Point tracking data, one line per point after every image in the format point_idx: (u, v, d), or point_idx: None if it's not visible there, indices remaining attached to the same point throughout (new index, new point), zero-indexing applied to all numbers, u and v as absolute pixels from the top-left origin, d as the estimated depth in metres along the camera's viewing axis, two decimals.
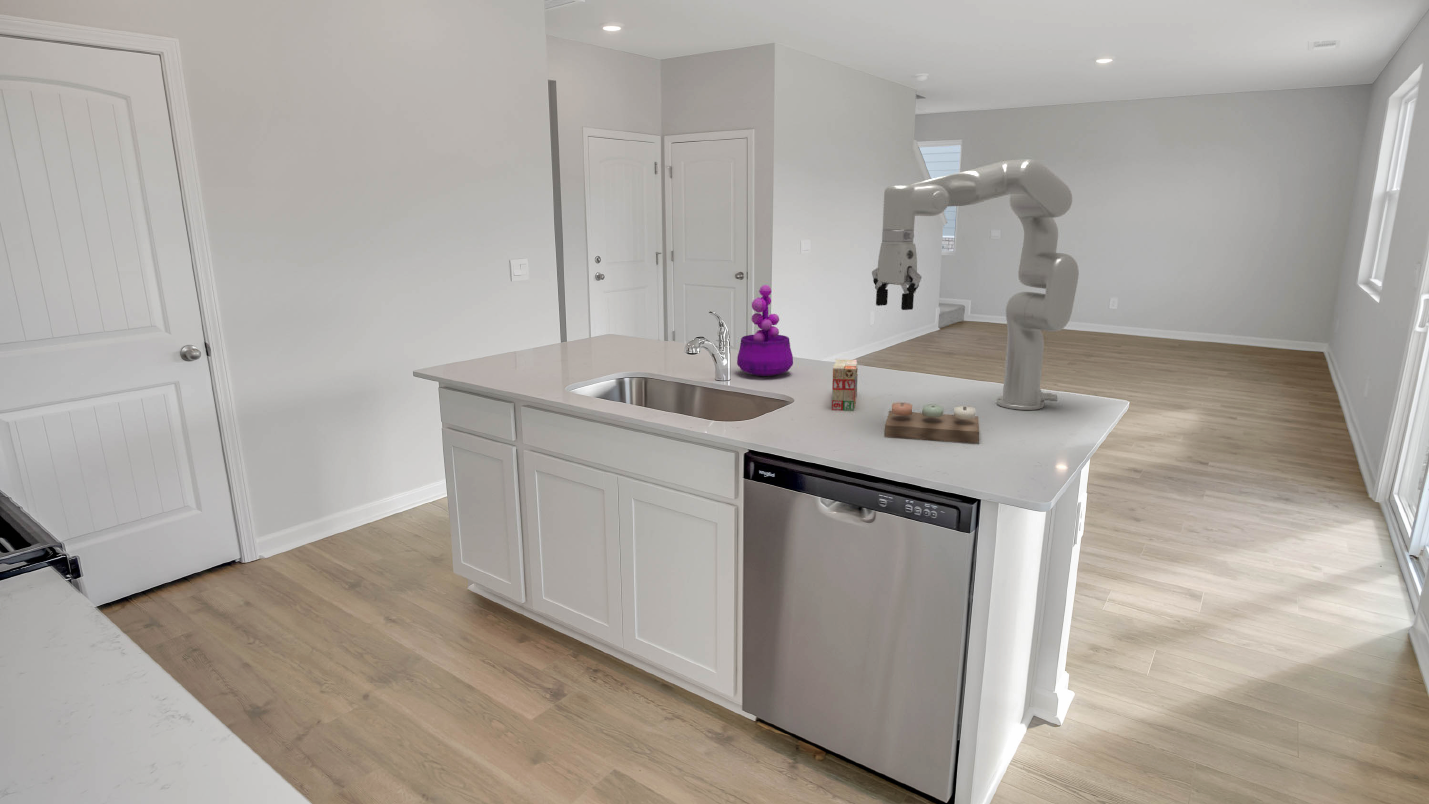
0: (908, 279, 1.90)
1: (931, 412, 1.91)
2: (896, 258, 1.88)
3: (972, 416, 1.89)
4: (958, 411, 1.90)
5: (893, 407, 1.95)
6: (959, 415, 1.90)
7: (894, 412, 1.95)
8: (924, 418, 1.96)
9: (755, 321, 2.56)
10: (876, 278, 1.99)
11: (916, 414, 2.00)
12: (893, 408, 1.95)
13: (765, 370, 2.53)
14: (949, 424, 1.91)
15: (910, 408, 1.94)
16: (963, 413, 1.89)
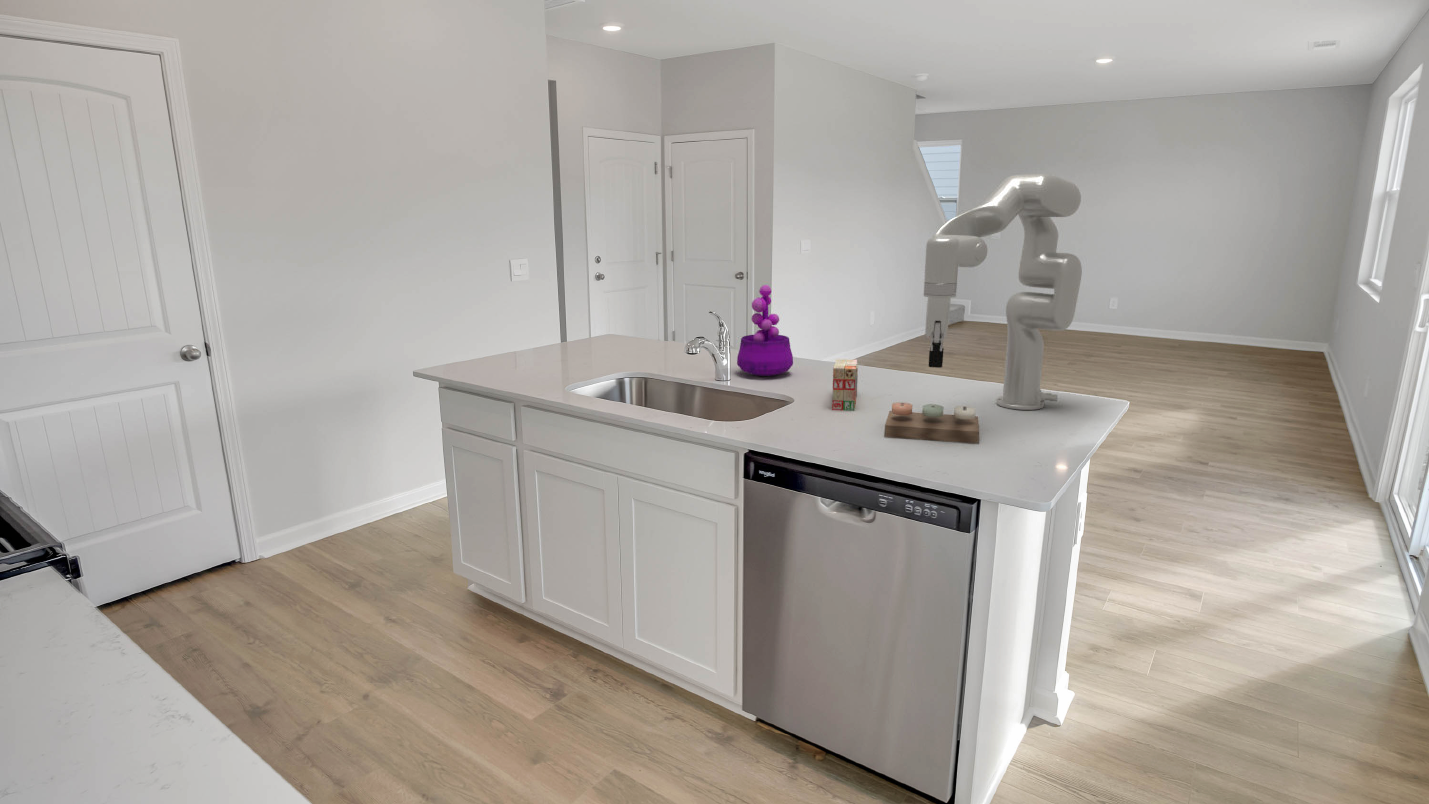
0: None
1: (931, 412, 1.91)
2: None
3: (972, 416, 1.89)
4: (958, 411, 1.90)
5: (893, 407, 1.95)
6: (959, 415, 1.90)
7: (894, 412, 1.95)
8: (924, 418, 1.96)
9: (755, 321, 2.56)
10: None
11: (916, 414, 2.00)
12: (893, 408, 1.95)
13: (765, 370, 2.53)
14: (949, 424, 1.91)
15: (910, 408, 1.94)
16: (963, 413, 1.89)
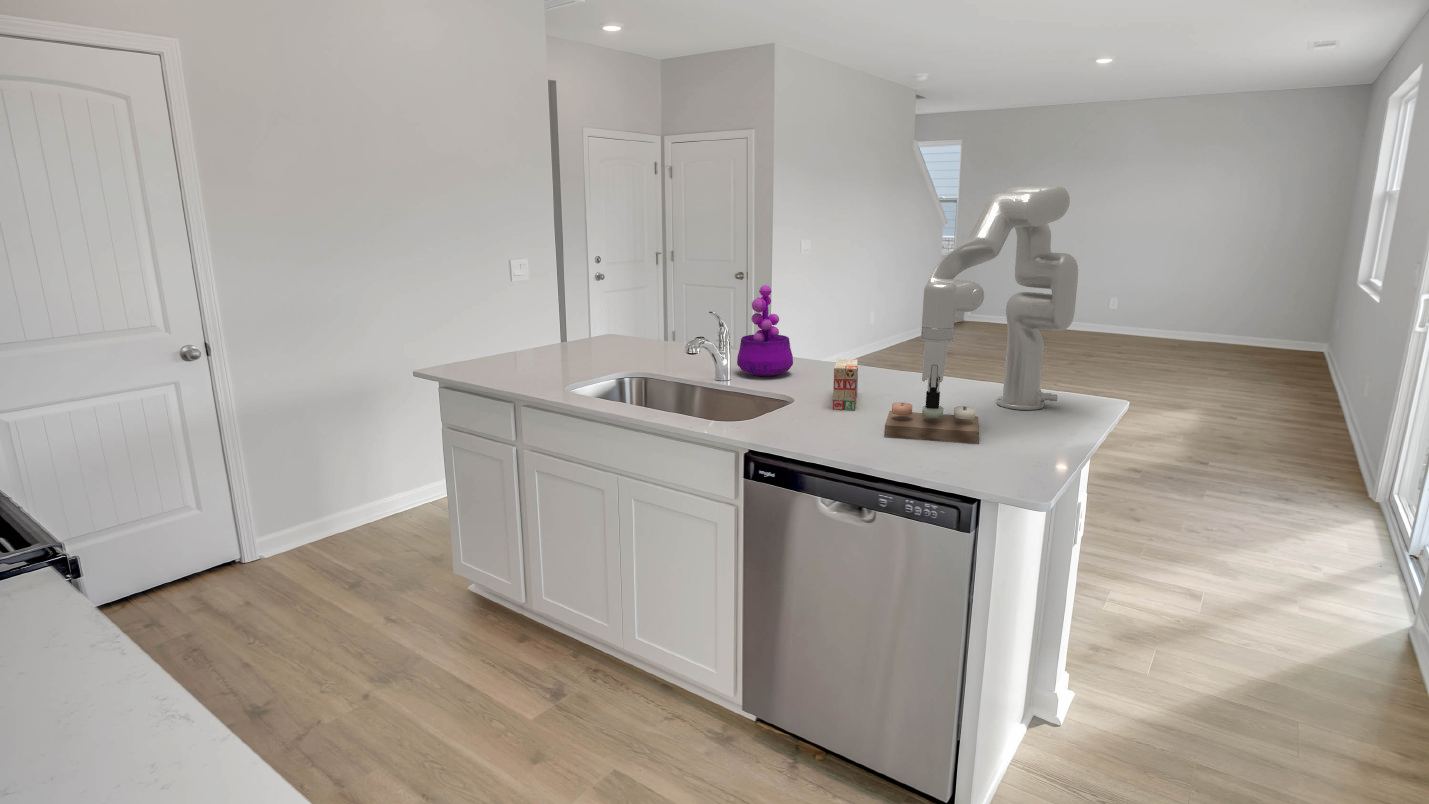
0: None
1: (931, 413, 1.91)
2: None
3: (972, 416, 1.89)
4: (958, 411, 1.90)
5: (893, 407, 1.95)
6: (959, 415, 1.90)
7: (894, 412, 1.95)
8: (924, 418, 1.96)
9: (755, 321, 2.56)
10: None
11: (916, 414, 2.00)
12: (893, 408, 1.95)
13: (765, 370, 2.53)
14: (949, 424, 1.91)
15: (910, 408, 1.94)
16: (963, 413, 1.89)
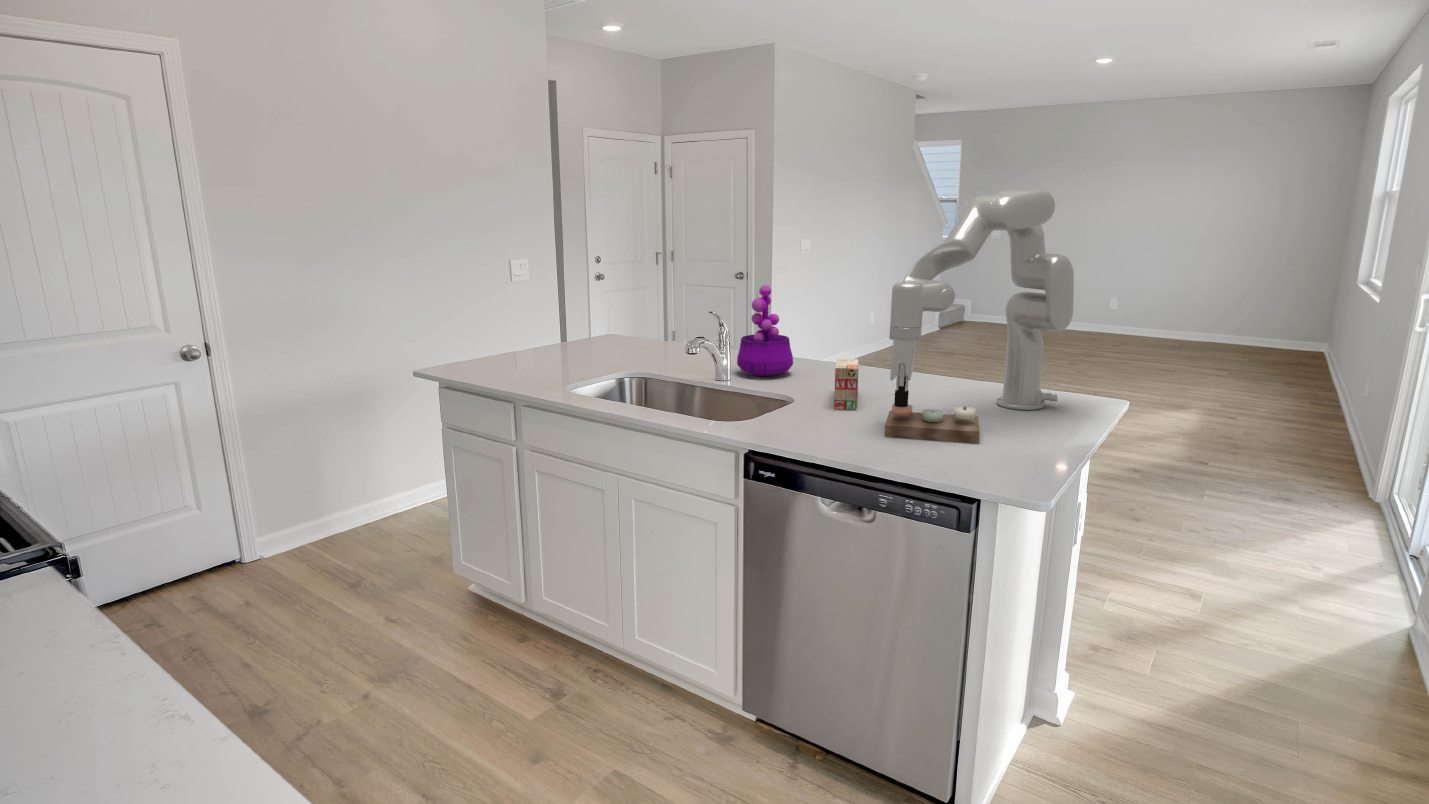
0: None
1: (931, 417, 1.92)
2: None
3: (972, 416, 1.89)
4: (958, 411, 1.90)
5: (893, 408, 1.95)
6: (959, 415, 1.90)
7: (894, 413, 1.95)
8: None
9: (755, 321, 2.56)
10: None
11: (916, 414, 2.00)
12: (893, 409, 1.95)
13: (765, 370, 2.53)
14: (949, 424, 1.91)
15: (910, 409, 1.94)
16: (963, 413, 1.89)
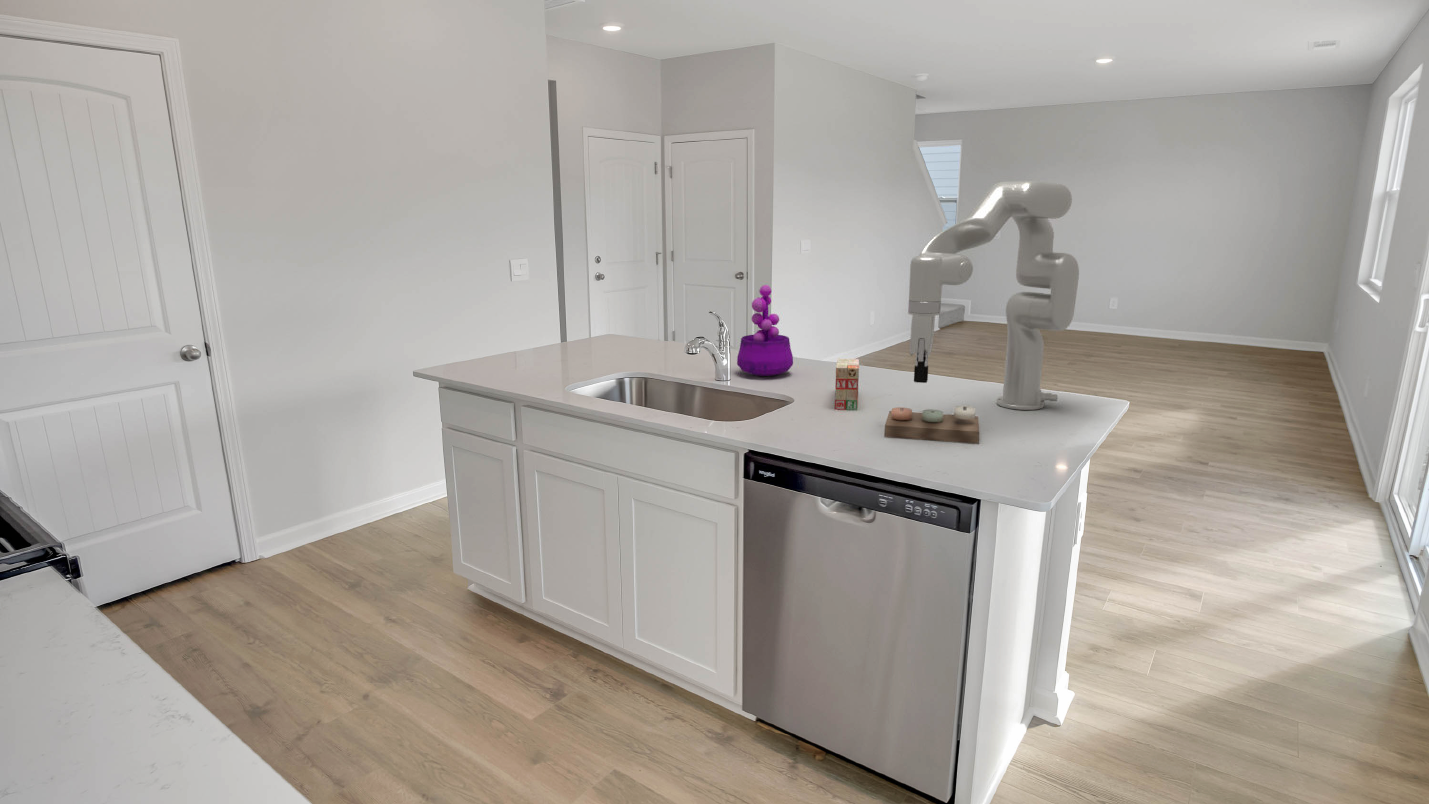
0: None
1: (931, 417, 1.92)
2: None
3: (972, 416, 1.89)
4: (958, 411, 1.90)
5: (893, 412, 1.95)
6: (959, 415, 1.90)
7: (894, 417, 1.95)
8: None
9: (755, 321, 2.56)
10: None
11: (916, 414, 2.00)
12: (893, 413, 1.95)
13: (765, 370, 2.53)
14: (949, 424, 1.91)
15: (910, 413, 1.94)
16: (963, 413, 1.89)
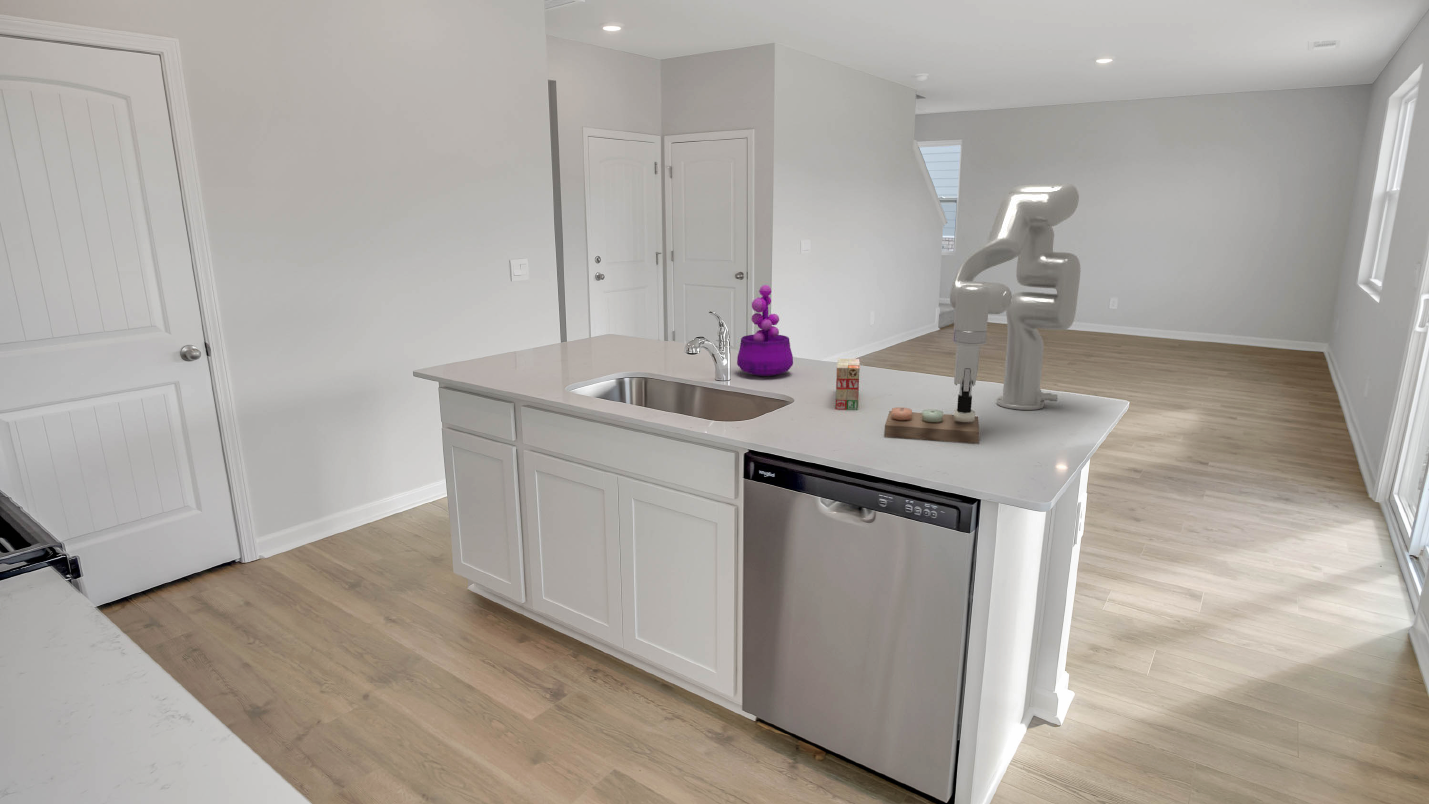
0: None
1: (931, 417, 1.92)
2: None
3: (972, 419, 1.90)
4: (958, 414, 1.90)
5: (893, 412, 1.95)
6: (959, 418, 1.90)
7: (894, 417, 1.95)
8: None
9: (755, 321, 2.56)
10: None
11: (916, 414, 2.00)
12: (893, 413, 1.95)
13: (765, 370, 2.53)
14: (949, 424, 1.91)
15: (910, 413, 1.94)
16: (963, 416, 1.89)
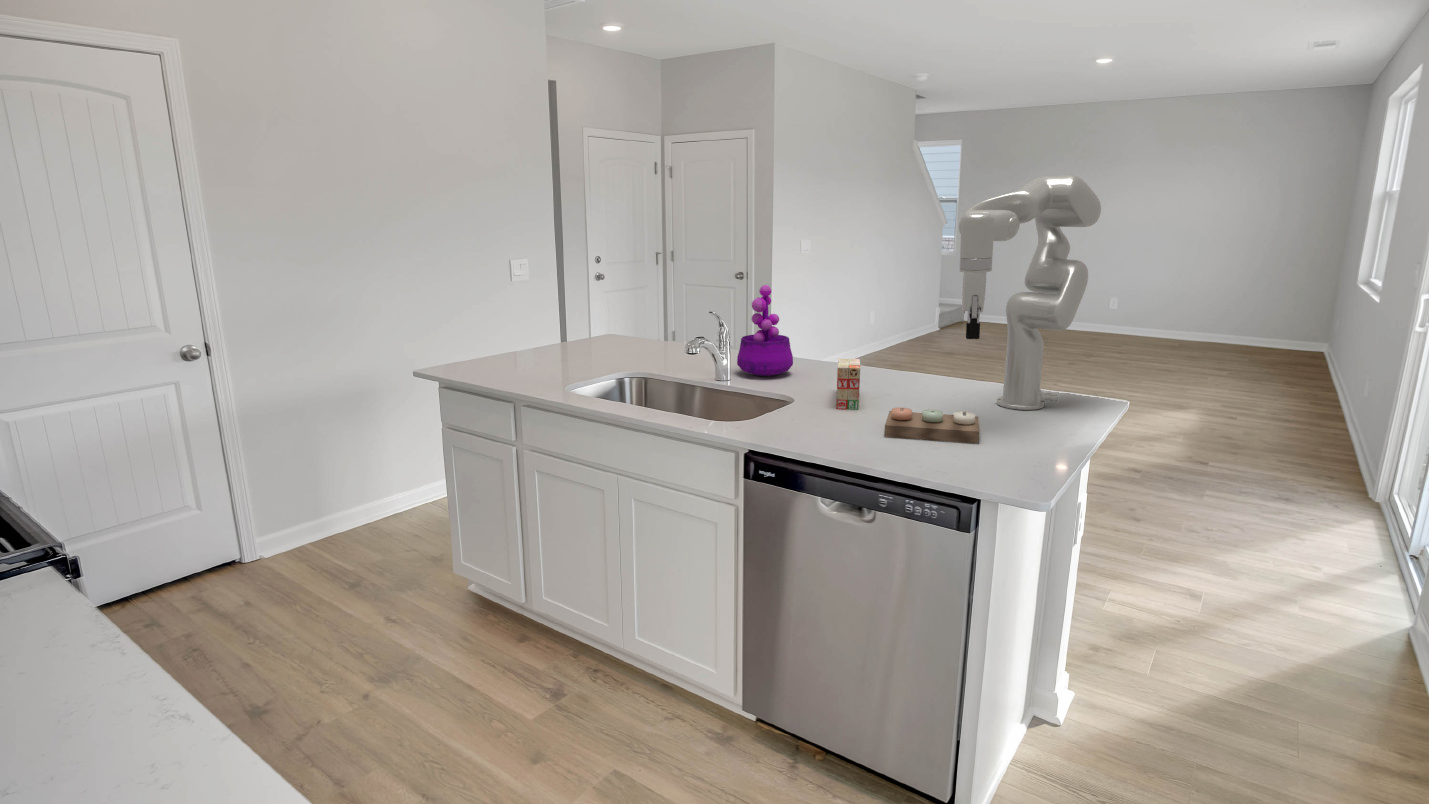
0: None
1: (931, 417, 1.92)
2: None
3: (972, 422, 1.90)
4: (958, 416, 1.90)
5: (893, 412, 1.95)
6: (959, 420, 1.90)
7: (894, 417, 1.95)
8: None
9: (755, 321, 2.56)
10: None
11: (916, 414, 2.00)
12: (893, 413, 1.95)
13: (765, 370, 2.53)
14: (949, 424, 1.91)
15: (910, 413, 1.94)
16: (963, 418, 1.89)
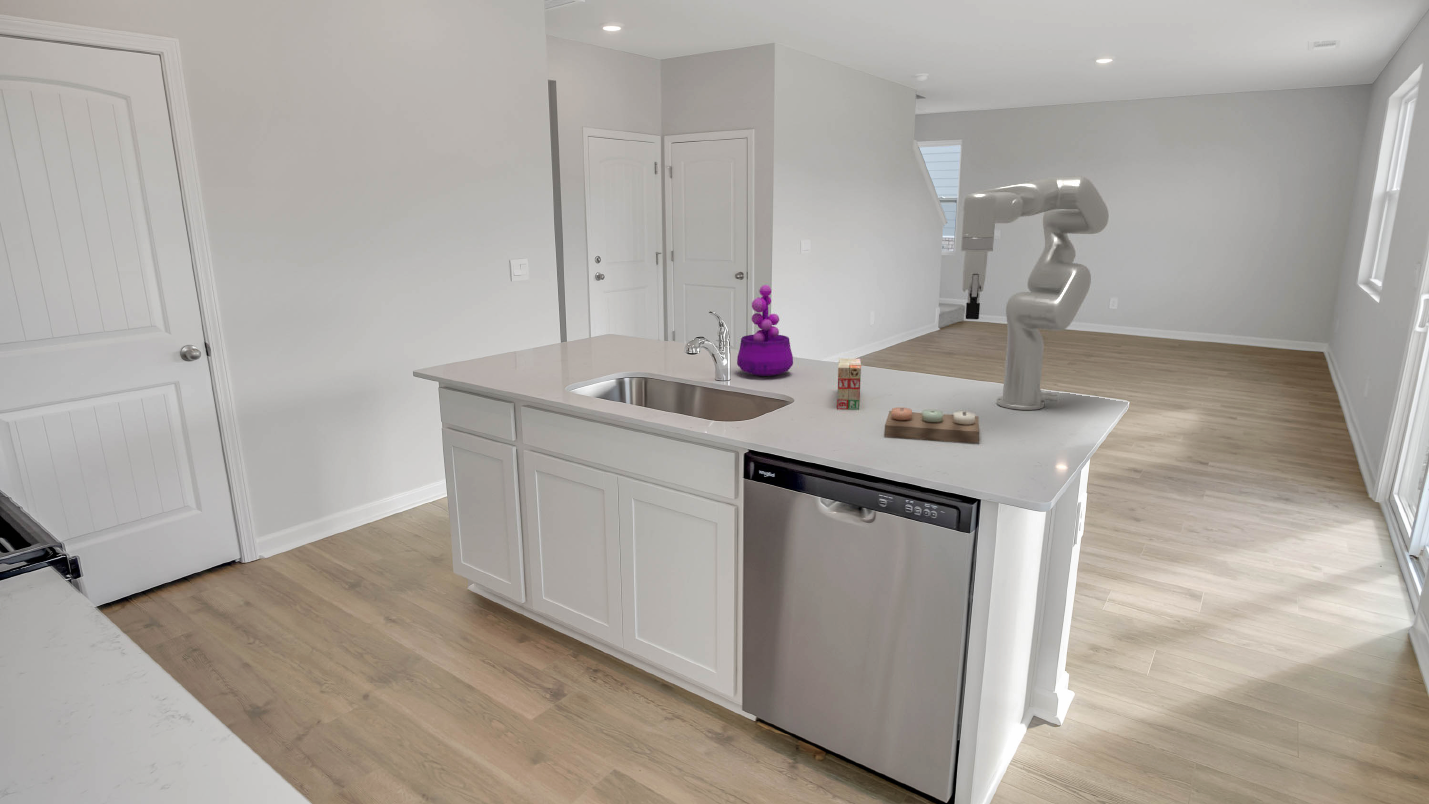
0: None
1: (931, 417, 1.92)
2: None
3: (972, 422, 1.90)
4: (958, 416, 1.90)
5: (893, 412, 1.95)
6: (959, 420, 1.90)
7: (894, 417, 1.95)
8: None
9: (755, 321, 2.56)
10: None
11: (916, 414, 2.00)
12: (893, 413, 1.95)
13: (765, 370, 2.53)
14: (949, 424, 1.91)
15: (910, 413, 1.94)
16: (963, 418, 1.89)
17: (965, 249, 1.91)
